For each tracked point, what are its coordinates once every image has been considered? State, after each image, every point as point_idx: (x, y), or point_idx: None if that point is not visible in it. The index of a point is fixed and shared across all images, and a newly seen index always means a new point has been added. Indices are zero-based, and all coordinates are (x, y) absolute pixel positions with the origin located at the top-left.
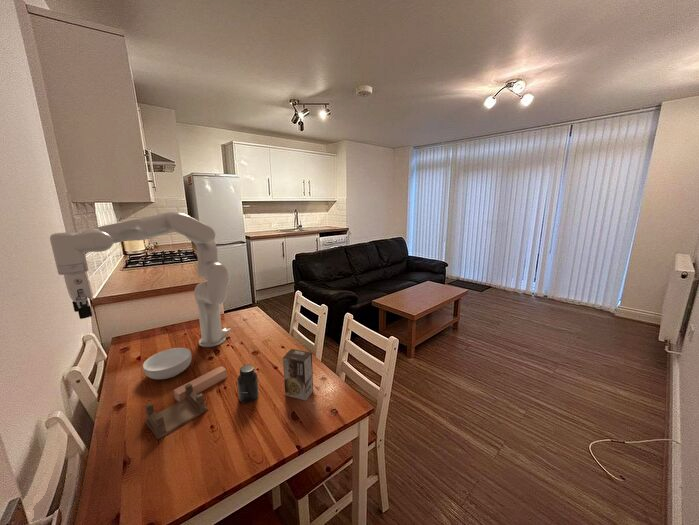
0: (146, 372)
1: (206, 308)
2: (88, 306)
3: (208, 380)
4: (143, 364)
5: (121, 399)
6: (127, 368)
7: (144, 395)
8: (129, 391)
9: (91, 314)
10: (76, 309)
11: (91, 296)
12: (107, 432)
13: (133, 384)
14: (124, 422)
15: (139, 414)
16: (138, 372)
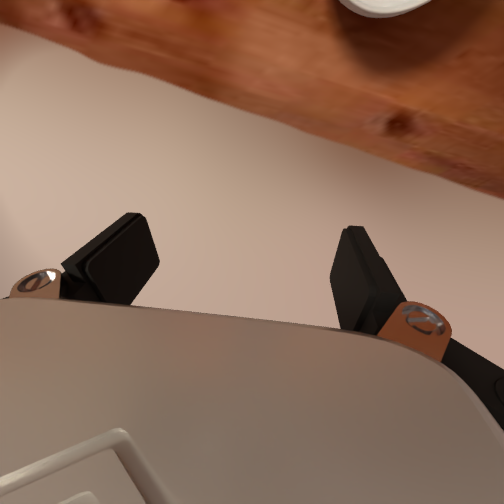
0: (402, 13)
1: None
2: (417, 310)
3: None
4: (356, 3)
5: (374, 113)
6: (225, 51)
7: (424, 58)
8: (359, 86)
9: (365, 235)
10: (150, 266)
11: (490, 415)
12: (459, 165)
13: (335, 65)
14: (470, 133)
15: (487, 98)
16: (279, 28)
